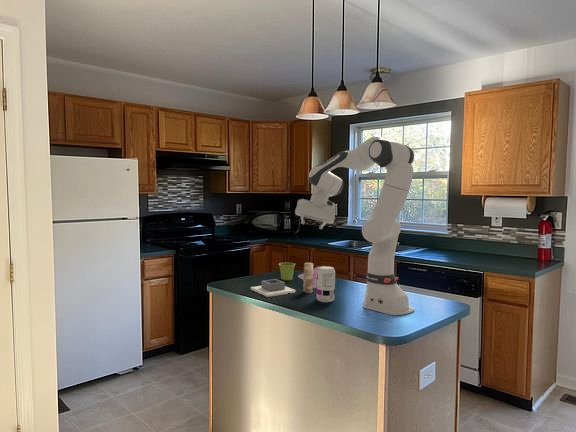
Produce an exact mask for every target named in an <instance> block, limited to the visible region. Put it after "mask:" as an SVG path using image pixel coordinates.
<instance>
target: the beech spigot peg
mask: <svg viewBox="0 0 576 432" xmlns="http://www.w3.org/2000/svg"><path fill="white" fill-rule="evenodd" d="M313 269H314V263H313V262H305V263H303V274H304V280H303V285H304V287H303V293H304V292H305V293H304V294H311V293H312V294H313V293H314V291H313V289H314V288H313Z"/></svg>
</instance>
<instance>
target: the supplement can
mask: <svg viewBox="0 0 576 432" xmlns="http://www.w3.org/2000/svg"><path fill="white" fill-rule="evenodd" d="M317 267H318V270H317V281H316V296H315V297H316V300H317V301H318V302H319V303H331V302H334V301H335V290H336V269H335V267H333V266H328V265H326V266H325V265H322V266H317Z"/></svg>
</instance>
